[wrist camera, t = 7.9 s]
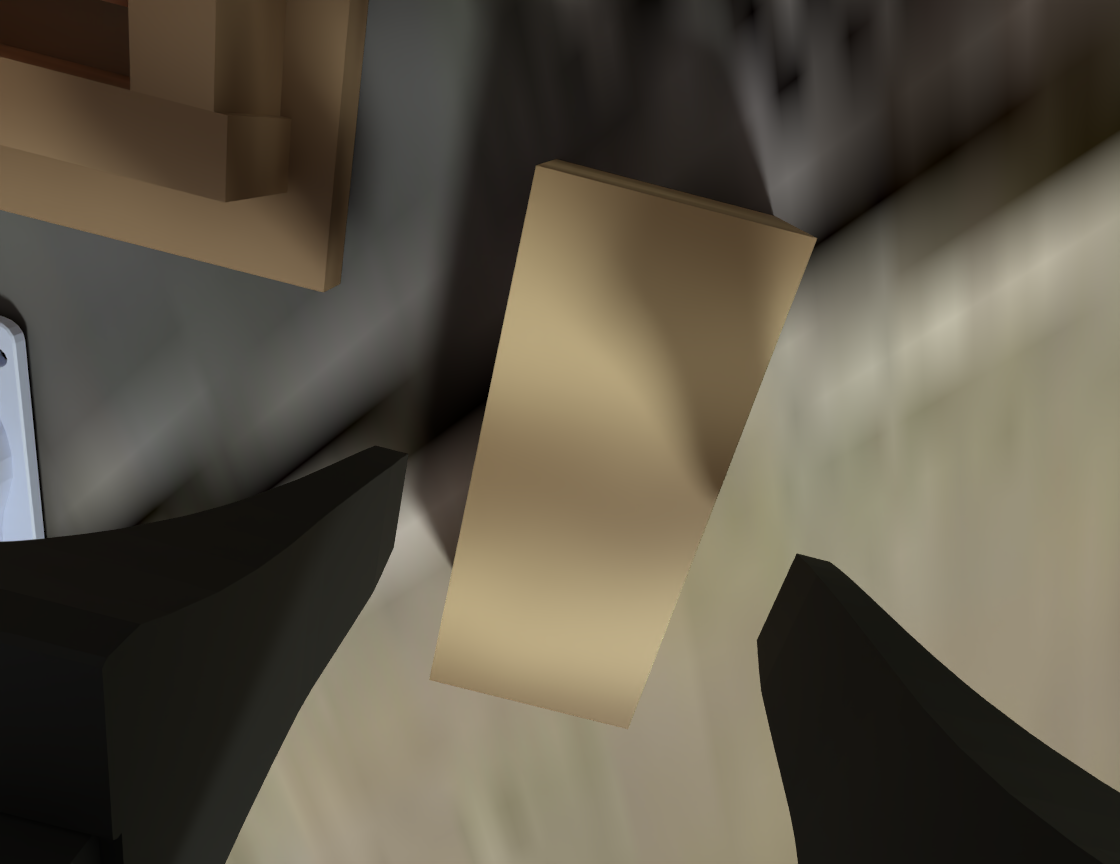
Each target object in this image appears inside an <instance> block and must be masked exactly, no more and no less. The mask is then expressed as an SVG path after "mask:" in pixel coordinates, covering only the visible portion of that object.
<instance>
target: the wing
mask: <svg viewBox="0 0 1120 864" xmlns="http://www.w3.org/2000/svg"><path fill="white" fill-rule="evenodd" d="M816 240H817V238H815V237H813V236H811V235H810V234H808V233H806V232H804V231H802V230H800V229H798V228H796V227H794V226H792V225H791V224H789V223H787V222H785V221H783V220H781V219H779V218H777V217H775V216H773V215H769V214H765V213H762V212H758V211H754V210H750V209H746V208H742V207H739V206H735V205H731V204H727V203H723V202H719V201H716V200H712V199H708V198H704V197H700V196H696V195H692V194H689V193H685V192H681V191H677V190H673V189H669V188H666V187H662V186H658V185H654V184H650V183H646V182H643V181H639V180H635V179H631V178H627V177H623V176H620V175H616V174H612V173H608V172H604V171H600V170H597V169H593V168H589V167H585V166H581V165H577V164H573V163H570V162H566V161H562V160H558V159H555V160H551V161H548V162H545V163H542V164H539V165H536V168H535V173H534V178H533V183H532V187H531V192H530V197H529V202H528V207H527V212H526V216H525V221H524V226H523V231H522V236H521V240H520V245H519V250H518V255H517V260H516V265H515V269H514V274H513V279H512V284H511V289H510V294H509V298H508V303H507V308H506V313H505V318H504V322H503V327H502V332H501V337H500V342H499V347H498V351H497V356H496V361H495V366H494V371H493V375H492V380H491V385H490V390H489V395H488V400H487V404H486V409H485V414H484V419H483V424H482V428H481V433H480V438H479V443H478V448H477V453H476V457H475V462H474V467H473V472H472V477H471V482H470V486H469V491H468V496H467V501H466V506H465V510H464V515H463V520H462V525H461V530H460V535H459V539H458V544H457V549H456V554H455V559H454V563H453V568H452V573H451V578H450V583H449V588H448V592H447V597H446V602H445V607H444V612H443V616H442V621H441V626H440V631H439V636H438V641H437V645H436V650H435V655H434V660H433V665H432V669H431V674H430V679H429V680H432V681H436V682H440V683H444V684H448V685H452V686H456V687H460V688H464V689H468V690H472V691H476V692H480V693H484V694H489V695H493V696H497V697H501V698H505V699H509V700H513V701H517V702H521V703H525V704H529V705H533V706H537V707H541V708H545V709H549V710H553V711H557V712H561V713H565V714H569V715H573V716H577V717H581V718H585V719H589V720H593V721H597V722H601V723H605V724H609V725H613V726H618V727H622V728H626V729H628V728H629V725H630V723H631V720H632V718H633V715H634V712H635V710H636V707H637V705H638V702H639V699H640V697H641V694H642V692H643V689H644V686H645V684H646V681H647V679H648V676H649V673H650V671H651V668H652V666H653V663H654V660H655V658H656V655H657V653H658V650H659V647H660V645H661V642H662V640H663V637H664V634H665V632H666V629H667V627H668V624H669V621H670V619H671V616H672V614H673V611H674V608H675V606H676V603H677V601H678V598H679V595H680V593H681V590H682V588H683V585H684V582H685V580H686V577H687V575H688V572H689V569H690V567H691V564H692V562H693V559H694V556H695V554H696V551H697V549H698V546H699V543H700V541H701V538H702V536H703V533H704V531H705V528H706V525H707V523H708V520H709V518H710V515H711V512H712V510H713V507H714V505H715V502H716V499H717V497H718V494H719V492H720V489H721V486H722V484H723V481H724V479H725V476H726V473H727V471H728V468H729V466H730V463H731V460H732V458H733V455H734V453H735V450H736V447H737V445H738V442H739V440H740V437H741V434H742V432H743V429H744V427H745V424H746V421H747V419H748V416H749V414H750V411H751V408H752V406H753V403H754V401H755V398H756V395H757V393H758V390H759V388H760V385H761V382H762V380H763V377H764V375H765V372H766V369H767V367H768V364H769V362H770V359H771V356H772V354H773V351H774V349H775V346H776V343H777V341H778V338H779V336H780V333H781V330H782V328H783V325H784V323H785V320H786V317H787V315H788V312H789V310H790V307H791V304H792V302H793V299H794V297H795V294H796V291H797V289H798V286H799V284H800V281H801V278H802V276H803V273H804V271H805V268H806V266H807V263H808V260H809V258H810V255H811V253H812V250H813V247H814V245H815V242H816Z"/></svg>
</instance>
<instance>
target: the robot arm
mask: <svg viewBox="0 0 1120 864" xmlns="http://www.w3.org/2000/svg"><path fill="white" fill-rule="evenodd" d="M0 350H2V351H3V352H4V353H5V355H6V358H7V360H6V359H5V358H4V357H3V356H2V354H1V352H0V864H225V863H226V860H227V858H228V856H229V854H230V852H231V850H232V847H233V845H234V843H235V841H236V839H237V837H238V834H239V832H240V830H241V828H242V826H243V824H244V822H245V819H246V817H247V815H248V813H249V811H250V809H251V807H252V805H253V803H254V801H255V799H256V797H257V795H258V792H259V790H260V788H261V786H262V784H263V782H264V780H265V778H266V776H267V774H268V772H269V770H270V768H271V765H272V763H273V761H274V759H275V757H276V755H277V753H278V751H279V749H280V747H281V745H282V743H283V741H284V739H285V737H286V735H287V733H288V732H289V730H290V728H291V726H292V724H293V722H294V720H295V718H296V716H297V714H298V712H299V710H300V708H301V706H302V705H303V703H304V701H305V700H306V698H307V696H308V694H309V693H310V691H311V689H312V688H313V686H314V684H315V683H316V681H317V680H318V678H319V677H320V675H321V674H322V672H323V670H324V669H325V667H326V666H327V664H328V663H329V661H330V659H331V658H332V656H333V655H334V653H335V652H336V650H337V649H338V647H339V645H340V644H341V642H342V641H343V639H344V638H345V636H346V634H347V633H348V631H349V630H350V628H351V627H352V625H353V624H354V622H355V620H356V619H357V617H358V616H359V614H360V612H361V611H362V609H363V608H364V606H365V604H366V603H367V601H368V600H369V598H370V596H371V595H372V593H373V591H374V589H375V587H376V585H377V583H378V581H379V579H380V577H381V575H382V572H383V570H384V568H385V566H386V564H387V561H388V559H389V557H390V555H391V552H392V550H393V548H394V542H395V536H396V530H397V523H398V517H399V511H400V505H401V498H402V492H403V486H404V479H405V473H406V467H407V460H408V454H406V453H402V452H398V451H395V450H391V449H387V448H383V447H379V446H373V447H371V448H368V449H366V450H363V451H361V452H359V453H356V454H354V455H352V456H350V457H348V458H345V459H343V460H341V461H339V462H337V463H334V464H332V465H330V466H328V467H325V468H323V469H321V470H318V471H316V472H314V473H311V474H309V475H307V476H305V477H302V478H300V479H298V480H295V481H292V482H290V483H287V484H284V485H282V486H279V487H276V488H274V489H271V490H268V491H266V492H263V493H260V494H258V495H255V496H252V497H250V498H247V499H244V500H240V501H237V502H234V503H231V504H228V505H224V506H221V507H217V508H213V509H210V510H206V511H202V512H199V513H195V514H191V515H187V516H183V517H178V518H173V519H168V520H163V521H158V522H153V523H148V524H143V525H138V526H133V527H127V528H122V529H116V530H110V531H102V532H95V533H88V534H81V535H72V536H63V537H54V538H44V528H43V517H42V507H41V497H40V487H39V477H38V466H37V456H36V446H35V436H34V426H33V415H32V405H31V395H30V385H29V375H28V364H27V354H26V344H25V338H24V334H23V332H22V330H21V329H20V327H19V326H18V325H17V324H16V323H15V322H13V321H12V320H10V319H8V318H6V317H3V316H0ZM757 648H758V662H759V674H760V683H761V692H762V696H763V701H764V706H765V710H766V714H767V719H768V723H769V727H770V732H771V736H772V740H773V744H774V748H775V752H776V757H777V761H778V765H779V769H780V773H781V777H782V782H783V786H784V790H785V794H786V798H787V802H788V806H789V811H790V816H791V821H792V826H793V831H794V836H795V843H796V851H797V858H798V864H1120V793H1119V792H1118V791H1116V790H1115V789H1113V788H1111V787H1110V786H1108V785H1106V784H1105V783H1103V782H1102V781H1100V780H1098V779H1097V778H1095V777H1094V776H1092V775H1091V774H1089V773H1088V772H1086V771H1085V770H1083V769H1082V768H1080V767H1079V766H1077V765H1076V764H1074V763H1073V762H1071V761H1070V760H1068V759H1067V758H1065V757H1064V756H1062V755H1061V754H1059V753H1058V752H1056V751H1055V750H1053V749H1052V748H1050V747H1049V746H1047V745H1046V744H1044V743H1043V742H1042V741H1040V740H1039V739H1037V738H1036V737H1034V736H1033V735H1032V734H1030V733H1029V732H1027V731H1026V730H1025V729H1023V728H1022V727H1021V726H1019V725H1018V724H1017V723H1015V722H1014V721H1013V720H1011V719H1010V718H1009V717H1007V716H1006V715H1005V714H1003V713H1002V712H1001V711H1000V710H998V709H997V708H996V707H994V706H993V705H992V704H990V703H989V702H988V701H986V700H985V699H984V698H983V697H981V696H980V695H979V694H978V693H976V692H975V691H974V690H973V689H971V688H970V687H969V686H968V685H967V684H965V683H964V682H963V681H962V680H961V679H960V678H958V677H957V676H956V675H955V674H954V673H953V672H951V671H950V670H949V669H948V668H947V667H946V666H944V665H943V664H942V663H941V662H940V661H939V660H937V659H936V658H935V657H934V656H933V655H932V654H931V653H930V652H928V651H927V650H926V649H925V648H924V647H923V646H922V645H921V644H920V643H918V642H917V641H916V640H915V639H914V638H913V637H912V636H911V635H910V634H909V633H908V632H907V631H905V630H904V629H903V628H902V627H901V626H900V625H899V624H898V623H897V622H896V621H895V620H894V619H893V618H892V617H891V616H890V615H888V614H887V613H886V612H885V611H884V610H883V609H882V608H881V607H880V606H879V605H878V604H877V603H876V602H875V601H874V600H873V599H872V598H871V597H870V596H868V595H867V594H866V593H865V592H864V591H863V590H862V589H861V588H860V587H859V586H858V585H857V584H856V583H855V582H853V581H852V580H851V579H850V578H849V577H848V576H847V575H846V574H844V573H843V572H842V571H841V570H840V569H838V568H837V567H836V566H835V565H833V564H832V563H830V562H828V561H824V560H820V559H816V558H812V557H808V556H805V555H801V554H796V556H795V559H794V561H793V563H792V565H791V567H790V569H789V572H788V574H787V576H786V578H785V580H784V582H783V585H782V587H781V589H780V591H779V593H778V596H777V598H776V600H775V602H774V604H773V606H772V609H771V611H770V613H769V615H768V617H767V620H766V622H765V624H764V626H763V628H762V630H761V633H760V635H759V637H758V639H757Z"/></svg>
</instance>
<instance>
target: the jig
mask: <svg viewBox="0 0 1120 864" xmlns="http://www.w3.org/2000/svg"><path fill="white" fill-rule="evenodd" d="M368 2H369V0H128V7H125V6H121V5H117V4H113V3H110V2H106V1H102V0H0V210H3V211H7V212H11V213H15V214H19V215H23V216H27V217H31V218H35V219H39V220H43V221H46V222H50V223H54V224H58V225H62V226H66V227H70V228H74V229H78V230H82V231H86V232H90V233H93V234H97V235H101V236H105V237H109V238H113V239H117V240H121V241H125V242H129V243H133V244H136V245H140V246H144V247H148V248H152V249H156V250H160V251H164V252H168V253H172V254H176V255H179V256H183V257H187V258H191V259H195V260H199V261H203V262H207V263H211V264H215V265H219V266H223V267H226V268H230V269H234V270H238V271H242V272H246V273H250V274H254V275H258V276H262V277H266V278H269V279H273V280H277V281H281V282H285V283H289V284H293V285H297V286H301V287H305V288H309V289H312V290H316V291H320V292H325V291H327V290H329V289H331V288H333V287H335V286H337V285H339V284H340V282H341V272H342V262H343V252H344V242H345V232H346V222H347V212H348V202H349V192H350V182H351V172H352V162H353V152H354V142H355V132H356V122H357V112H358V102H359V92H360V82H361V72H362V62H363V52H364V42H365V32H366V22H367V12H368Z"/></svg>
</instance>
